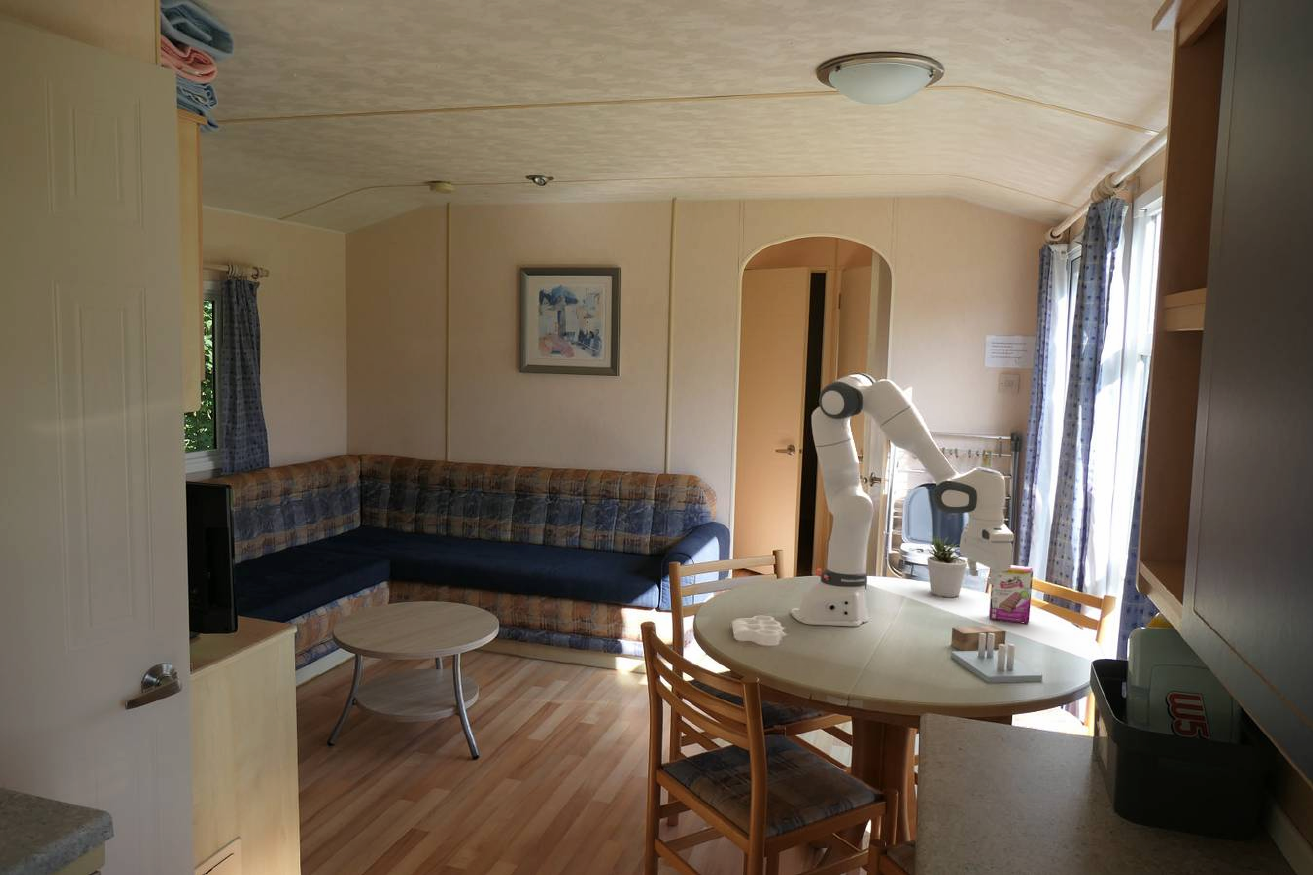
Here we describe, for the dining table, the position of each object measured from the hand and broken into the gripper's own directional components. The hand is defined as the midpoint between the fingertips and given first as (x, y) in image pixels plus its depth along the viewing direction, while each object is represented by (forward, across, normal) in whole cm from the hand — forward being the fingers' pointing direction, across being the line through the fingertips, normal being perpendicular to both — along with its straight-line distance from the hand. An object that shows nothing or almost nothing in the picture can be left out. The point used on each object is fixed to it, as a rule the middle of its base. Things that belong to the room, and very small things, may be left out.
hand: (982, 579), depth 232 cm
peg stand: (+18, +17, -5) cm, 25 cm away
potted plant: (+18, -53, +18) cm, 59 cm away
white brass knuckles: (+18, -13, -57) cm, 62 cm away
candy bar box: (+19, -23, +23) cm, 37 cm away
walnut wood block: (+18, 0, 0) cm, 19 cm away
